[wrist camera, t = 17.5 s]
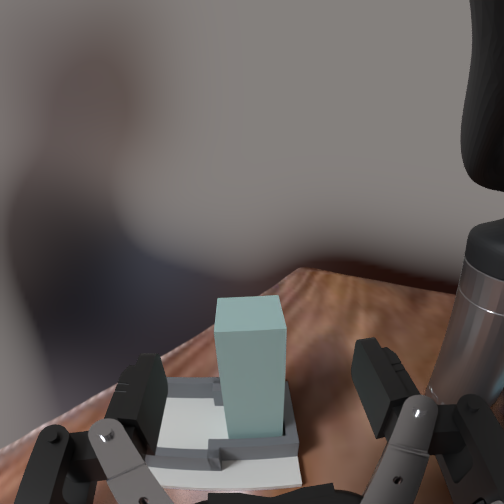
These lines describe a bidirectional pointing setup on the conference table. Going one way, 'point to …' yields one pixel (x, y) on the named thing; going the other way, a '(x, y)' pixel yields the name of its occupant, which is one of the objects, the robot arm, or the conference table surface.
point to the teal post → (251, 364)
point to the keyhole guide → (219, 444)
